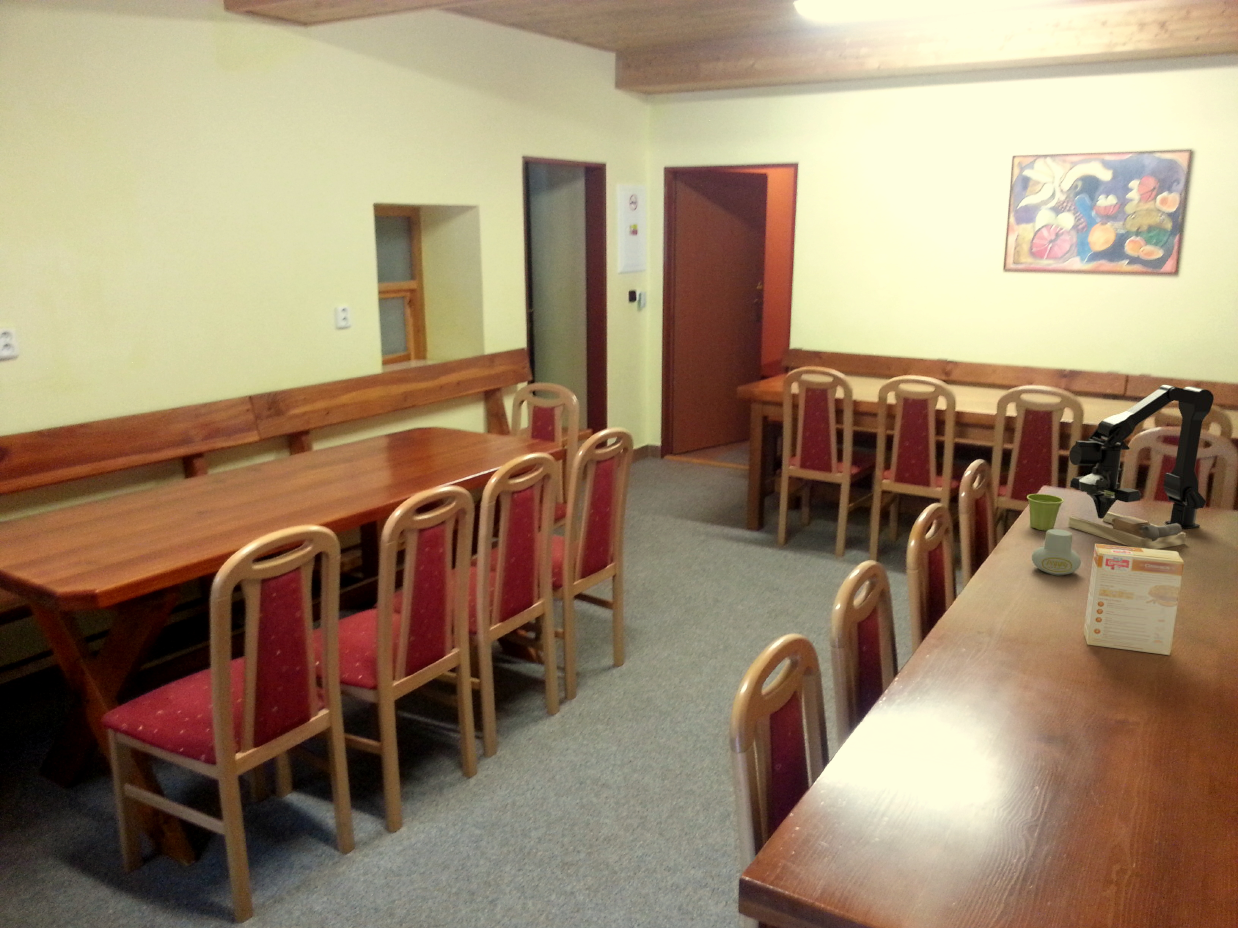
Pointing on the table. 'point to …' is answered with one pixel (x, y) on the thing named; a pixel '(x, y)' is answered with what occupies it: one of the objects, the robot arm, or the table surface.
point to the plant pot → (1043, 510)
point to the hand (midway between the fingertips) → (1100, 518)
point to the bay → (1151, 533)
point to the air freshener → (1056, 554)
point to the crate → (1129, 525)
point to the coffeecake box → (1133, 598)
